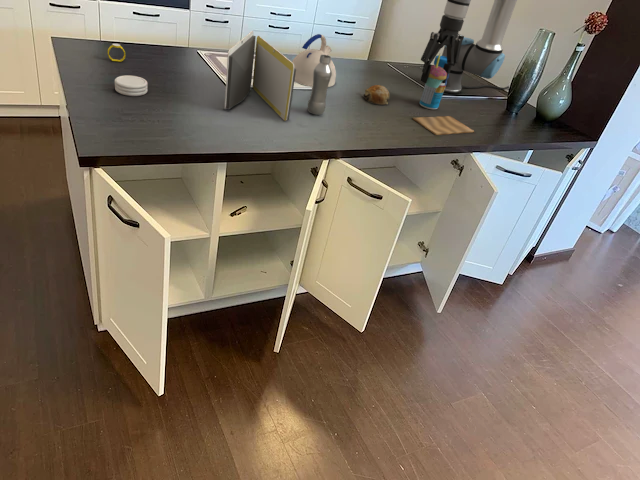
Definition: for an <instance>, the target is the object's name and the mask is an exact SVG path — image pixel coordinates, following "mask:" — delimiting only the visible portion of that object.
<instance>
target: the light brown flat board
mask: <svg viewBox="0 0 640 480" xmlns="http://www.w3.org/2000/svg"><path fill="white" fill-rule="evenodd" d="M412 120H413V121H415V122H416V123H417V124H418V125H420V126H422V128H425V129H427V130H428V132H431V133H432V134H433V135H434V136H441V135H454V134H456V135H458V134H470V133H475V130H474V129H472V128H471V127H469V126H467V125H465V124H464V123H462V122H461V121H459V120H457V119H455V118H454V117H453V116H451V115H443V116H422V117H412Z"/></svg>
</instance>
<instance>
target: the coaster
mask: <svg viewBox="0 0 640 480" xmlns="http://www.w3.org/2000/svg"><path fill="white" fill-rule="evenodd" d="M148 84H149V83H148V81H147V80H146V79H145V78H143V77H140V76H137V75H129V74H128V75H127V74H126V75H119V76H117V77H116V78H115V79H114V89H115V91H116V92H117V93H118V94H120V95H122V96H128V97H141V96H144V95H146V94H147V93H148V91H149V89H148V87H149V86H148Z"/></svg>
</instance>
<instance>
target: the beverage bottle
mask: <svg viewBox="0 0 640 480" xmlns="http://www.w3.org/2000/svg"><path fill="white" fill-rule="evenodd" d="M438 56H439V55H436V56H435V58H434V59H433V66H435V65H436V63H437V59H438ZM445 63H447V57H445V56H442V55H440V59H439V63H438V66H439V67H441V68H443V67H444V64H445ZM448 78H449V74H448V76H447V79H448ZM447 79H446V82H445V83H442V82H441V84H440V85H439V87H438V88H432V87H429V86H427V85H426V83H424V87H423V90H422V93H421V97H420V100H419V105H420V107H423V108H424V109H428V110H432V111H433V110H438V109H439V107H440V104H441V100H442V98H443V95H444V93H445V92H444V89H445V87H446V85H447Z"/></svg>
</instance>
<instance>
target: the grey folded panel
mask: <svg viewBox="0 0 640 480" xmlns="http://www.w3.org/2000/svg"><path fill="white" fill-rule="evenodd" d="M226 58H227V59H226V60H227V61H226V77H225V91H224V92H225V94H224V110H227V109H228V110H230V109H231V108H233V107H234V106H237V105H238V104H240V103H241V102H242V101H244V100H245V98H246V97H247V96H248V94H249V93H250V92H251V88H252V89H253V90H254V91H255V92H256V93H257V95H258V96H260V97H261V98H262V99H263V101H265V103H266V104H267V105H268V106H269V107H270V108H271V109H272V110H273V111H274V112H275V113H276V114H277V115H278V116H279V117H280V118H281V119H282V120H283V121H284V122H286V121H289V120H290V115H291V109H292V101H293V93H294V88H295V87H294V86H295V74H296V69H295V68H294V64H293V63H292V60H290V59H289V58H287V57H286V56H285V55H284V54H283V53H281V51H279V50H277V48H275V47H274V46H273V45H271V44H270V43H269V42H268V41H267V40H265V39H264V38H263V37H261V36H260V35H257V36H256V35H254V30H251V31H249V33H247V34H246V35H245V36H244V37H243V38H242V39H240V40H239V41H237V43H235V45H233V46H232V47H230V48H229V49H228V51H227V57H226Z"/></svg>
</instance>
